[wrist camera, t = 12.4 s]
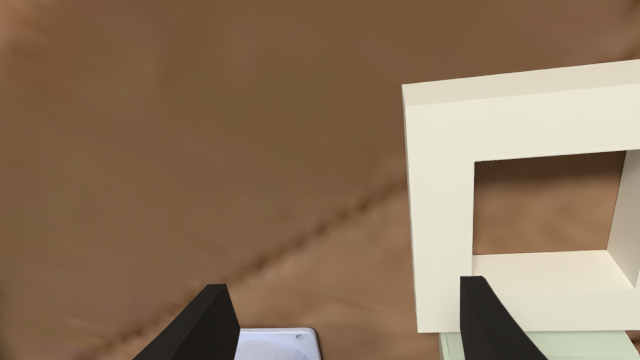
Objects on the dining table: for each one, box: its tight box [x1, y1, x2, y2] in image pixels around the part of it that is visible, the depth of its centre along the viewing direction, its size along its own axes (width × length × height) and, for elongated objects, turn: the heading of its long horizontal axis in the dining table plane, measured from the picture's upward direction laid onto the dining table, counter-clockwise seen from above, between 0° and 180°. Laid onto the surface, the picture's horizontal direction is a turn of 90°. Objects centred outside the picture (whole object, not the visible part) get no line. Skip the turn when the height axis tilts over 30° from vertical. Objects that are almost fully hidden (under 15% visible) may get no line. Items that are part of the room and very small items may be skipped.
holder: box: [402, 59, 640, 333], centre depth 21 cm, size 13×13×3 cm
